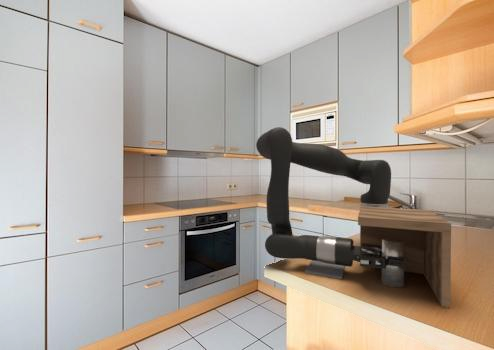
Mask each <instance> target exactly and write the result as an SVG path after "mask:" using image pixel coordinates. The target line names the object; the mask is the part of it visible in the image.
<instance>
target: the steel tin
mask: <svg viewBox="0 0 494 350" xmlns="http://www.w3.org/2000/svg"><path fill="white" fill-rule="evenodd" d="M382 255H387V256H393V257H402V258H404V241H402V240H399V239H393V238H384V239H382ZM404 276H405V271H404V267H397V266H387V267H386V268H381V282H382V284H384V285H386V286H389V287H393V288H403V287H404V286H405V277H404Z"/></svg>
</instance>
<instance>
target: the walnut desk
mask: <svg viewBox="0 0 494 350" xmlns="http://www.w3.org/2000/svg"><path fill="white" fill-rule="evenodd" d="M359 208H360V209H359V211H358V215H357V225H358V226H359V228H360V230H359V234H360V235H359V236H360V237H359V238H360V239H359V246H361V244H362V243H365V244H370V245H376V246H382V239H384V238H393V239H399V240H402V241H404V258H405V259H406V267H405V268H404V272H408V273H415V274H421V275H422V274H423V275H424V277H425V279H426V280H427V283H428V284H429V286H430V288H431V290H432V291H433V294H434V295H435V297H436V300H437V301H438V303H439V305H440V307H442V308H447V309H451V285H452V284H451V283H452V281H451V277H452V275H451V273H452V272H451V269H452V267H451V265H452V222H450V221H448V220H446V219H445V218H443V217H441V216H440V215H438V214H437V213H435V212H434V211H432V210H431V209H418V208H417V209H415V208H396V207H388V208H382V207H364V206H361V207H359ZM379 261H380V262H381V260H379Z"/></svg>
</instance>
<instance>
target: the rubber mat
mask: <svg viewBox="0 0 494 350" xmlns="http://www.w3.org/2000/svg"><path fill="white" fill-rule="evenodd" d="M345 270H346V266H342V265H335V264H328V263H324V262H320V261H314V260H310V262H309V264H308V266H307V267H306V268H305V270H304V274H308V275H312V276H320V277H325V278H332V279H338V280H343V277H344V273H345Z"/></svg>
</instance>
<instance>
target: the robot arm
mask: <svg viewBox="0 0 494 350" xmlns="http://www.w3.org/2000/svg"><path fill="white" fill-rule="evenodd" d="M255 147H256V149H257V153H259V155H260V156H262V157H263V158H265V159H267V160H270V165H271V166H270V168H271V169H270V177H269V179H270V180H269V183H268V188H267V192H266V219H267V222H268V223H269V224H271V234H269V236H268V237H267V238H266V239H265V242H264V247H265V248H264V249H265V250H266V252H267V253H268V254H269V255H270V256H272V257H273V258H278V259H290V260H292V259H303V260H307V261H308V260H309V261H312V260H314V261H320V262H324V263H328V264H335V265H342V266H345V267H350V268H351V267H352V266H353V265H354V261H355V262H358V263H359V267H361V268H373V269H374V268H375V269H382V268H386V267H387V266H397V267H404V268H405V267H406V259H405V258H402V257H393V256H387V255H382V246H376V245H370V244H365V243H362V244H361V246H360V245H354V240H353V239H352V238H350V237H349V238H347V237H339V236H337V237H336V236H328V235H326V236H325V235H324V236H323V235H321V236H319V235H311V234H301V235H298V236H297V235H296V236H295V235H294V234H293V229H292V224H291V220H290V201H289V199H290V198H289V197H290V196H289V188H290V187H289V186H290V185H289V184H290V172H291V164H295V165H298V166H301V167H304V168H308V169H310V170H314V171H317V172H321V173H325V174H329V175H334V176H341V177H345V178H349V179H350V180H353V181H356V182H358V183H361V184H364V185H369V189H368V190H367V192H364V193H362V194H360V199H359V200H360V202H359V203H360V207H361V206H364V207H382V208H389V205H388V204H389V203H388V202H389V199H390V195H391V185H392V169H391V166H390V164H389V162H388V161H386V160H384V159H370V160H366V159H365V160H364V159H362V160H361V159H356V158H351V157H349V156H348V155H347V154H345V153H344V152H343V151H342V150H341V149H338V148H336V147H332V146H328V145H325V144H321V143H320V144H318V143H306V142H305V143H301V142H295V141H293V137H292V134H291V133H290V131H288V130H287V129H286V128H283V127H280V126H279V127H274V128H271V129H270V130H267V131H265V132H264V133H262V134H261V135H260V136H259V137H258V138H257V141H256V146H255ZM360 207H359V208H360ZM379 260H381V262H380V261H379Z"/></svg>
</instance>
